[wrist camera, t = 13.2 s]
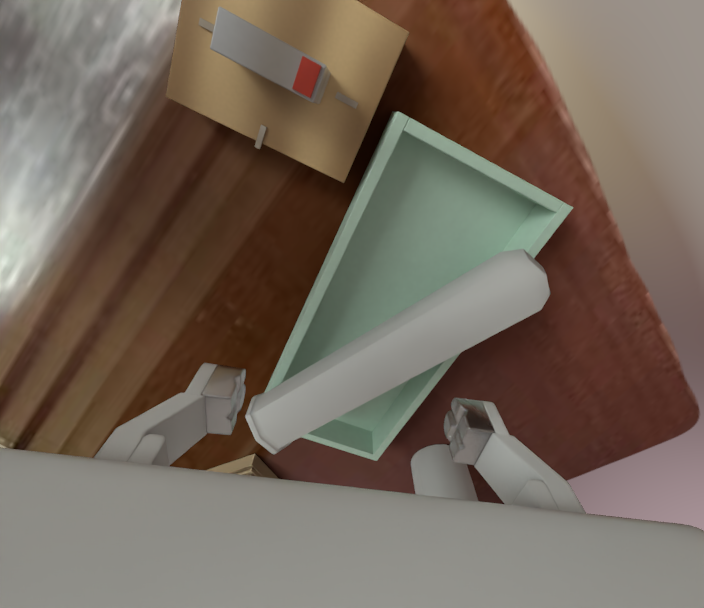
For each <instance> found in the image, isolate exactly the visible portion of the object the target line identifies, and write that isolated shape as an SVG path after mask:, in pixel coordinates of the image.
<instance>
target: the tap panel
mask: <svg viewBox="0 0 704 608" xmlns="http://www.w3.org/2000/svg"><path fill="white" fill-rule="evenodd" d="M218 7H222V8H224V9H226V10H228V11H229V12H231V13H233V14H235V15H237V16H238V17H240V18H242V19H244V20H246V21H247V22H249V23H251V24H253V25H255V26H256V27H258V28H260V29H262V30H264V31H265V32H267V33H269V34H271V35H273V36H275V37H276V38H278V39H280V40H282V41H284V42H285V43H287V44H289V45H291V46H293V47H294V48H296V49H298V50H300V51H302V52H303V53H305V54H307V55H309V56H311V57H312V58H314V59H316V60H318V61H320V62H321V63H323V64H325V65H326V66H327V68H328V69H329V71H330V73H331V75H330V77H329V80H328V83H327V86H326V89H325V91H324V94H323V97H322V100H321V102H320V104H316V103H312V102H310V101H308V100H306V99H304V98H302V97H300V96H299V95H297V94H295V93H293V92H291V91H289V90H287V89H285V88H283V87H281V86H280V85H278V84H276V83H274V82H272V81H270V80H268V79H266V78H264V77H262V76H261V75H259V74H257V73H255V72H253V71H251V70H249V69H247V68H245V67H243V66H241V65H240V64H238V63H236V62H234V61H232V60H230V59H228V58H226V57H224V56H222V55H221V54H219V53H217V52H215V51H213V50H211V49H210V45H211V40H212V35H213V30H214V26H215V21H216V16H217V11H218ZM408 35H409V32H408V31H406V30H405V29H403V28H401V27H400V26H398V25H396V24H395V23H393V22H392V21H390V20H388V19H387V18H385V17H383V16H382V15H380V14H378V13H377V12H375V11H373V10H372V9H370V8H368V7H367V6H365V5H363V4H362V3H360V2H358V1H357V0H182V2H181V8H180V14H179V20H178V26H177V32H176V38H175V44H174V50H173V55H172V61H171V67H170V73H169V79H168V85H167V91H166V97H167V98H169V99H171V100H173V101H175V102H177V103H179V104H181V105H183V106H185V107H188V108H190V109H192V110H194V111H196V112H198V113H200V114H202V115H204V116H206V117H208V118H210V119H212V120H214V121H216V122H218V123H221V124H223V125H225V126H227V127H229V128H231V129H233V130H235V131H237V132H239V133H241V134H243V135H245V136H247V137H249V138H251V139H254V140H256V143H255V147H256V148H258V149H260V148H261V145H262V144H264V145H266V146H268V147H270V148H272V149H274V150H276V151H278V152H280V153H282V154H284V155H286V156H289V157H291V158H293V159H295V160H297V161H299V162H301V163H303V164H305V165H307V166H309V167H311V168H313V169H315V170H317V171H319V172H322V173H324V174H326V175H328V176H330V177H332V178H334V179H336V180H338V181H340V182H342V183H344V182H345V180H346V178H347V175H348V173H349V171H350V169H351V166H352V164H353V162H354V159H355V157H356V155H357V152H358V150H359V148H360V146H361V143H362V141H363V139H364V136H365V134H366V132H367V129H368V127H369V125H370V122H371V120H372V118H373V116H374V113H375V111H376V109H377V106H378V104H379V102H380V99H381V97H382V95H383V93H384V90H385V88H386V86H387V83H388V81H389V79H390V76H391V74H392V72H393V69H394V67H395V65H396V63H397V60H398V58H399V56H400V53H401V51H402V49H403V46H404V44H405V42H406V40H407V37H408Z"/></svg>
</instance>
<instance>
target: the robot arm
mask: <svg viewBox="0 0 704 608" xmlns="http://www.w3.org/2000/svg"><path fill="white" fill-rule="evenodd" d="M245 377H246V370H245V369H243V368H237V367H231V366H224V365H216V364H210V363H204V364H202V365H201V367H200V369H199V370H198V372H197V374H196V375H195V377H194V378H193V380H192V382H191V383H190V385H189V387H188V388H187V390H186V392H185V393H179V394H177V395H175V396H174V397H172V398H170V399H168V400H166V401H165V402H163V403H161V404H159V405H157V406H156V407H154V408H152V409H150V410H148V411H147V412H145V413H143V414H141V415H139V416H138V417H136V418H134V419H132V420H130V421H128V422H127V423H125V424H123V425H121V426H119V427H118V428H116V429H115V431H114V432H113V433H112V434H111V436H110V437H109V438H108V440H107V441H106V442H105V444H104V445H103V446H102V448H101V449H100V450H99V452H98V453H97V454H96V456H95V457H94V458H88V457H79V456H70V455H61V454H53V453H44V452H35V451H26V450H17V449H8V448H0V608H704V531H703V530H701V529H699V528H697V527H693V526H689V525H684V524H677V523H666V522H657V521H648V520H639V519H631V518H622V517H612V516H603V515H595V514H586V512H585V511H584V509H583V507H582V505H581V504H580V502H579V500H578V499H577V497H576V495H575V493H574V492H573V490H572V488H571V486H570V485H569V483H568V482H567V481H566V480H565V479H563V478H562V477H561V476H560V475H559V474H558V473H556V472H555V471H554V470H553V469H552V468H550V467H549V466H548V465H547V464H546V463H545V462H543V461H542V460H541V459H540V458H539V457H538V456H536V455H535V454H534V453H533V452H532V451H531V450H529V449H528V448H527V447H526V446H525V445H523V444H522V443H521V442H520V441H519V440H518V439H516V438H515V437H514V436H511V435H509V433H508V431H507V429H506V427H505V425H504V423H503V421H502V419H501V416H500V414H499V412H498V410H497V408H496V406H495V404H494V403H493V402H488V401H478V400H470V399H462V398H454V399H453V400H452V403H451V408H452V410H450V411H449V412H447V414H446V417H445V420H444V432H445V436H446V438H447V439H448V440H449V441H450V442H451V443H450V445H449V450H450V453H451V457H452V460H453V462H456V463H463V464H469V465H475V466H474V467H475V468H476V469H477V470H478V472H479V473H480V474H481V475H482V477H483V478H484V479H485V480H486V482H487V483H488V484H489V485H490V486H491V488H492V489H493V490H494V491H495V493H496V494H497V495H498V496H499V498H500V499H501V500H502V501H503V503H504V504H497V503H488V502H479V501H470V500H461V499H453V498H444V497H435V496H426V495H417V494H408V493H400V492H391V491H382V490H373V489H364V488H355V487H346V486H337V485H328V484H320V483H311V482H302V481H293V480H284V479H275V478H266V477H257V476H248V475H239V474H231V473H222V472H213V471H204V470H195V469H186V468H177V467H169V465H170V464H172V463H173V462H174V461H175V460H176V459H178V458H179V457H180V456H181V455H182V454H184V453H185V452H186V451H187V450H188V449H189V448H191V447H192V446H193V445H194V444H195V443H197V442H198V441H199V440H200V439H201V438H203V437H204V436H205V435H206V433H214V434H225V435H231V433H232V431H233V428H234V426H235V423H236V420H237V413H238V412H239V411H240V410H241V407H242V404H243V400H244V396H245V385H244V383H243V382H244V380H245Z"/></svg>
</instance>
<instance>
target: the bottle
mask: <svg viewBox="0 0 704 608" xmlns="http://www.w3.org/2000/svg"><path fill="white" fill-rule="evenodd" d="M411 468H412V475H413V481H414V488H415V494H417V495H426V496H435V497H444V498H453V499H461V500H470V501H478V499H477V495H476V492H475V489H474V485H473V482H472V479H471V476H470V473H469V470H468V467H467V464H463V463H456V462H453V460H452V457H451V453H450V450H449V445H445V444H441V445H439V444H436V445H432V446H427V447H425V448H423V449H421V450H419V451H418V452H417V453H415V454H414V456H413V457H412V460H411Z"/></svg>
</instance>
